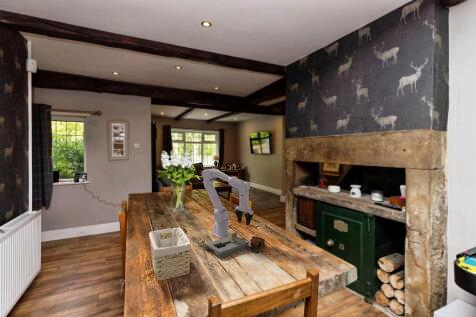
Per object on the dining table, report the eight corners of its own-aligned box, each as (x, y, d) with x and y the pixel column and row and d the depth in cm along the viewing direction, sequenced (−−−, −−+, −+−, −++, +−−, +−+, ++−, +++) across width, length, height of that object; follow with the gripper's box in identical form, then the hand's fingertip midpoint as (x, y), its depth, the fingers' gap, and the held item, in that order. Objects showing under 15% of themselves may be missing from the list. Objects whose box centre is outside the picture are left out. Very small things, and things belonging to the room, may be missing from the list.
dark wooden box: (244, 249, 133) (247, 234, 137) (257, 254, 137) (260, 239, 140) (256, 252, 123) (260, 236, 127) (270, 256, 127) (273, 241, 130)
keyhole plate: (219, 259, 121) (219, 252, 121) (204, 249, 132) (204, 243, 131) (248, 248, 134) (248, 242, 133) (233, 240, 144) (233, 235, 144)
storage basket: (192, 275, 106) (192, 243, 105) (154, 284, 99) (153, 249, 98) (181, 253, 127) (180, 226, 126) (148, 259, 120) (148, 231, 119)
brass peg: (227, 247, 135) (227, 231, 135) (233, 245, 138) (233, 230, 138) (231, 249, 132) (231, 234, 132) (237, 247, 135) (238, 232, 134)
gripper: (257, 202, 142) (256, 225, 142) (241, 198, 153) (241, 219, 154) (248, 204, 137) (248, 227, 138) (232, 200, 148) (232, 221, 149)
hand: (243, 223), depth 145 cm, fingers open, 7 cm apart
